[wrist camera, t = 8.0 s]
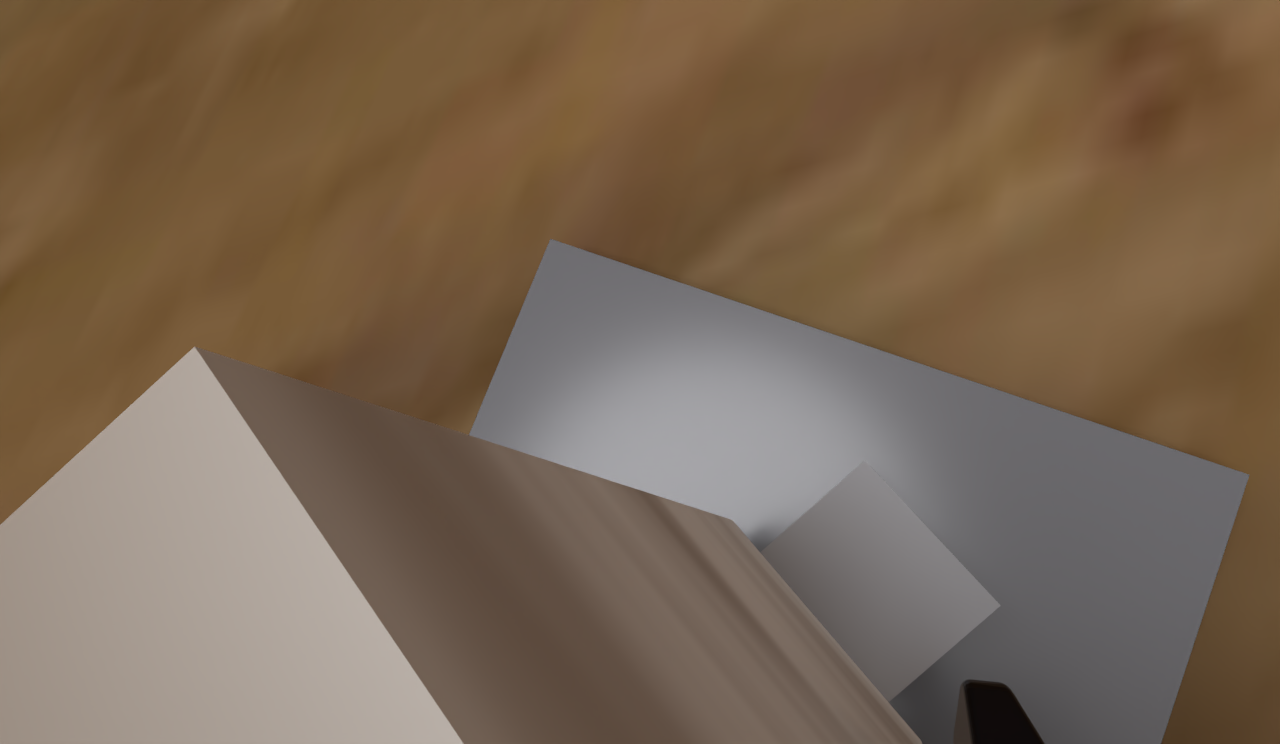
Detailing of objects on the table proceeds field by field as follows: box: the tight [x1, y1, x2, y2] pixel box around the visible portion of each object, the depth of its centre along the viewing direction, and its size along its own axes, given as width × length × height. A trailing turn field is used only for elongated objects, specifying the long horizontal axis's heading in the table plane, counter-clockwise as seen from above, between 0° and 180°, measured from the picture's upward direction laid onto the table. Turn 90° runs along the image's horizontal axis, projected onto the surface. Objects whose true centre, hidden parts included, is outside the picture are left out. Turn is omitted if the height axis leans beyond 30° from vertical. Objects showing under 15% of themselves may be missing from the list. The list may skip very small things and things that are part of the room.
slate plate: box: [469, 239, 1249, 744], centre depth 18 cm, size 14×14×2 cm
